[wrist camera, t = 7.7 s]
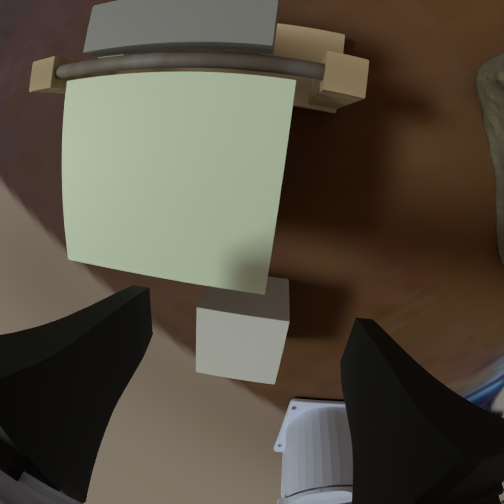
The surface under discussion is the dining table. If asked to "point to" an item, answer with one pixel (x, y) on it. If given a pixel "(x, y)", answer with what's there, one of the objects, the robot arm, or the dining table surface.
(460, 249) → the dining table surface
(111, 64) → the frame
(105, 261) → the trapdoor
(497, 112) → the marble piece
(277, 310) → the white cube
